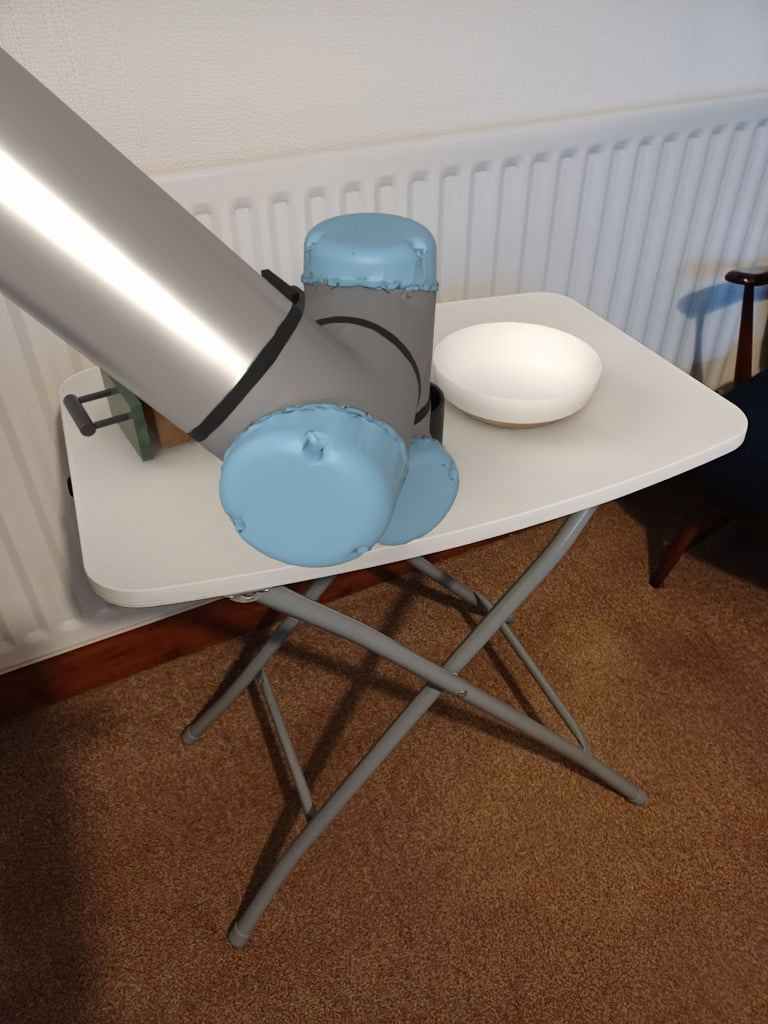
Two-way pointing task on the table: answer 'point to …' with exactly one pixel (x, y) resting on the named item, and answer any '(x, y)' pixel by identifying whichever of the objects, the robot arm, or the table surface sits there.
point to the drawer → (126, 418)
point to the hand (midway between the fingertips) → (198, 297)
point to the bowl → (516, 373)
